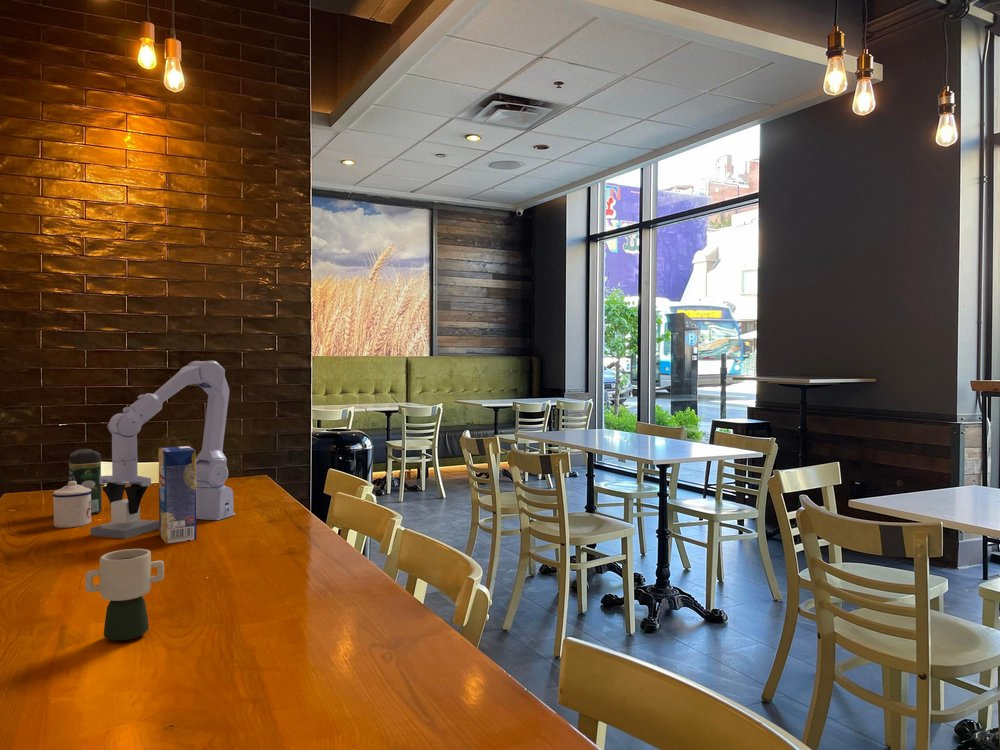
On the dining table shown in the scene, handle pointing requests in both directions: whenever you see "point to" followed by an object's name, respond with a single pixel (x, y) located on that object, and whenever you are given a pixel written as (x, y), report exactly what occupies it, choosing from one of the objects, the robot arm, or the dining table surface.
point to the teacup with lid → (72, 506)
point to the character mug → (125, 590)
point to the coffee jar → (87, 474)
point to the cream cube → (122, 512)
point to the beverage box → (177, 494)
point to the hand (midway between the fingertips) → (125, 512)
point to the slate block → (124, 528)
